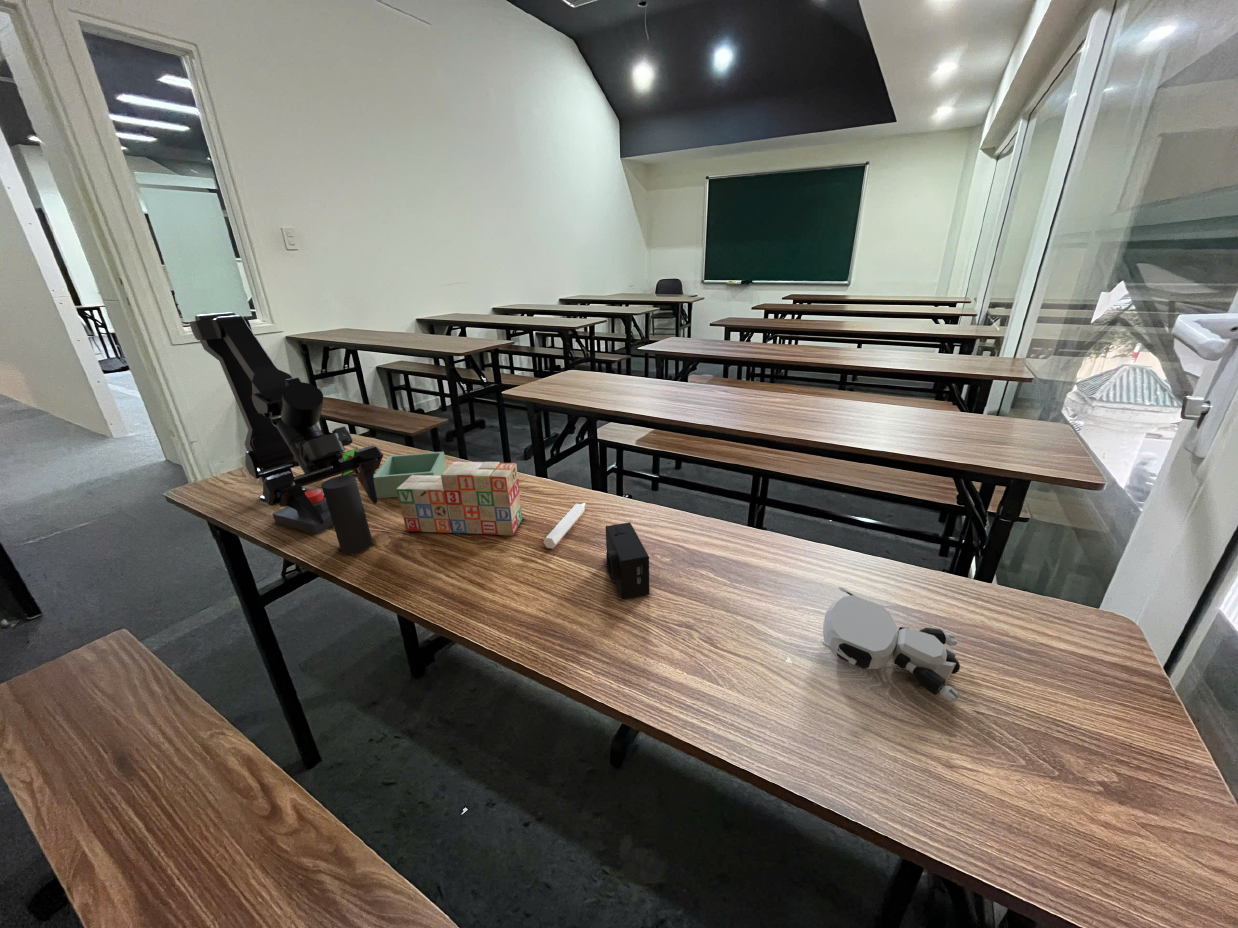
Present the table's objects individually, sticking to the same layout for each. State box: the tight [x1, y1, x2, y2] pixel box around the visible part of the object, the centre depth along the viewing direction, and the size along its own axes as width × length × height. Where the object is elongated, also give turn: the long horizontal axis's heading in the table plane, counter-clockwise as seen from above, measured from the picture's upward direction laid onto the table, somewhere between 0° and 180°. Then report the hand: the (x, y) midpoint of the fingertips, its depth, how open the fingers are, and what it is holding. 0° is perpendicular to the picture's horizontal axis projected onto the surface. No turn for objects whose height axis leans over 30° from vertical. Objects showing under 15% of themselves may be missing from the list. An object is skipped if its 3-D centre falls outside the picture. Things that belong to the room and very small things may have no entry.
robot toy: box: [821, 586, 961, 703], centre depth 60 cm, size 12×4×15 cm
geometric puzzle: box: [339, 447, 359, 477], centre depth 116 cm, size 7×7×8 cm
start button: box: [304, 489, 324, 504], centre depth 96 cm, size 4×4×2 cm
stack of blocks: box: [396, 461, 523, 536], centre depth 91 cm, size 21×6×12 cm, turn 84°
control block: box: [272, 491, 334, 535], centre depth 97 cm, size 12×10×4 cm
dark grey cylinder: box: [321, 475, 374, 555], centre depth 85 cm, size 5×5×13 cm
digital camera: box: [604, 522, 650, 600], centre depth 75 cm, size 10×5×7 cm, turn 14°
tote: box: [374, 451, 448, 499], centre depth 110 cm, size 13×13×5 cm
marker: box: [542, 502, 586, 550], centre depth 91 cm, size 3×2×16 cm
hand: (350, 512), depth 84 cm, fingers open, 9 cm apart
